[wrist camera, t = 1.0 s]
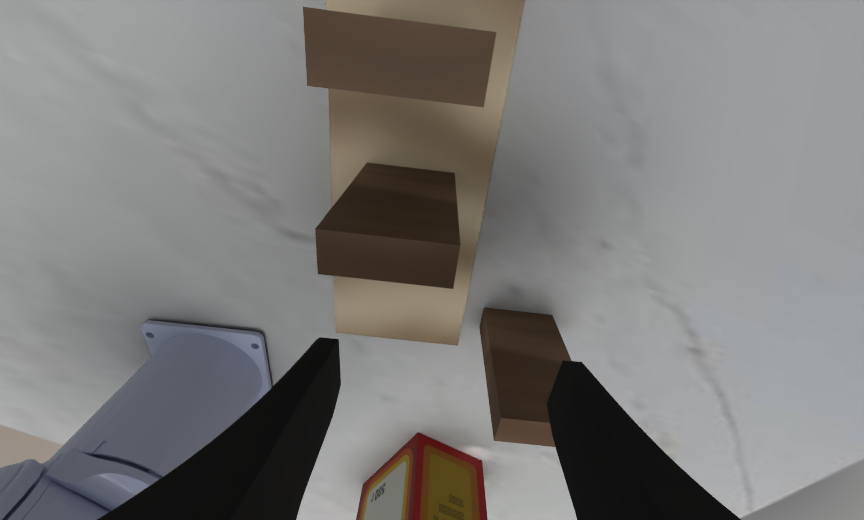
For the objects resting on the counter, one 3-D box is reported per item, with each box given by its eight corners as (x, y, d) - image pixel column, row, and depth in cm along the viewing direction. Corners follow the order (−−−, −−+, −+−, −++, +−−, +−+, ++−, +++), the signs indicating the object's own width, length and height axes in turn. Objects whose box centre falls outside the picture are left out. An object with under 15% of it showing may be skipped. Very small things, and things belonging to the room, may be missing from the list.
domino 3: (545, 334, 23) (588, 450, 16) (479, 327, 23) (493, 440, 16) (552, 315, 23) (599, 428, 16) (483, 307, 23) (501, 418, 16)
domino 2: (450, 203, 19) (453, 288, 12) (366, 193, 18) (318, 273, 11) (454, 172, 18) (460, 245, 11) (366, 162, 18) (315, 228, 11)
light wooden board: (457, 339, 24) (457, 345, 23) (338, 326, 24) (335, 332, 23) (577, -288, 11) (584, -305, 11) (321, -327, 11) (316, -346, 10)
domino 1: (467, 86, 16) (483, 107, 9) (368, 74, 16) (307, 85, 9) (473, 45, 15) (496, 32, 8) (369, 31, 15) (302, 6, 8)
